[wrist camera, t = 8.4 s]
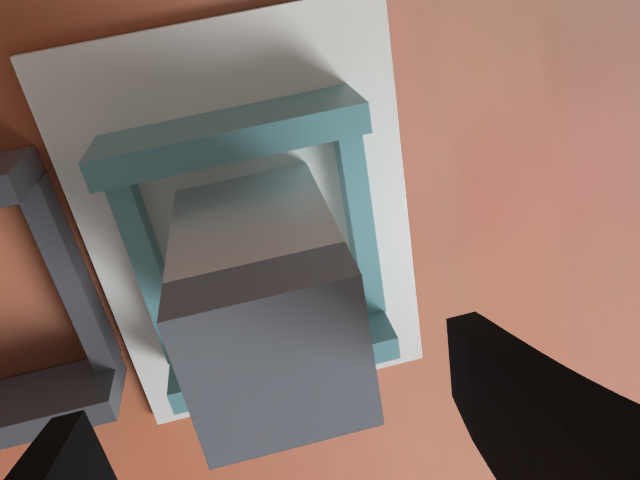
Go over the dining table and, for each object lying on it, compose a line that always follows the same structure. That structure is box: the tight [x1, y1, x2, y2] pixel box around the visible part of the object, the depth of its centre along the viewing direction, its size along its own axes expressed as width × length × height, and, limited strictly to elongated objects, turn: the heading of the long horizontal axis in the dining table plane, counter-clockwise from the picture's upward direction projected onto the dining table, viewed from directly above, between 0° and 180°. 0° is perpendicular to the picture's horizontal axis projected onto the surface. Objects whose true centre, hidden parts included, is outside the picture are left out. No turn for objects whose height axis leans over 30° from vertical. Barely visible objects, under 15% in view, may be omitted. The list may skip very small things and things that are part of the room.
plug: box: [157, 163, 384, 470], centre depth 15 cm, size 4×4×7 cm
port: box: [10, 0, 422, 425], centre depth 17 cm, size 10×13×3 cm
